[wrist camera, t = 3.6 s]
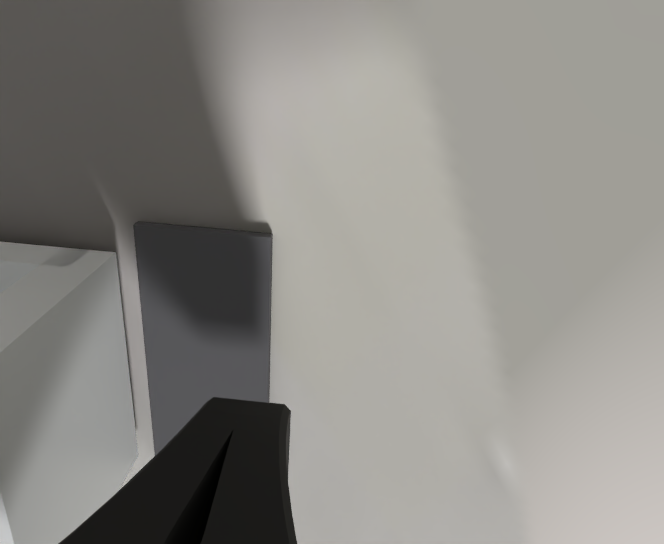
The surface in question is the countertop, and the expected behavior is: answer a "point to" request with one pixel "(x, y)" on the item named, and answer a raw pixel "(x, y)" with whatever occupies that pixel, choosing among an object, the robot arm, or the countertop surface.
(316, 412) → the countertop surface
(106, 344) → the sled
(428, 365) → the countertop surface
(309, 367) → the countertop surface
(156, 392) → the pad
